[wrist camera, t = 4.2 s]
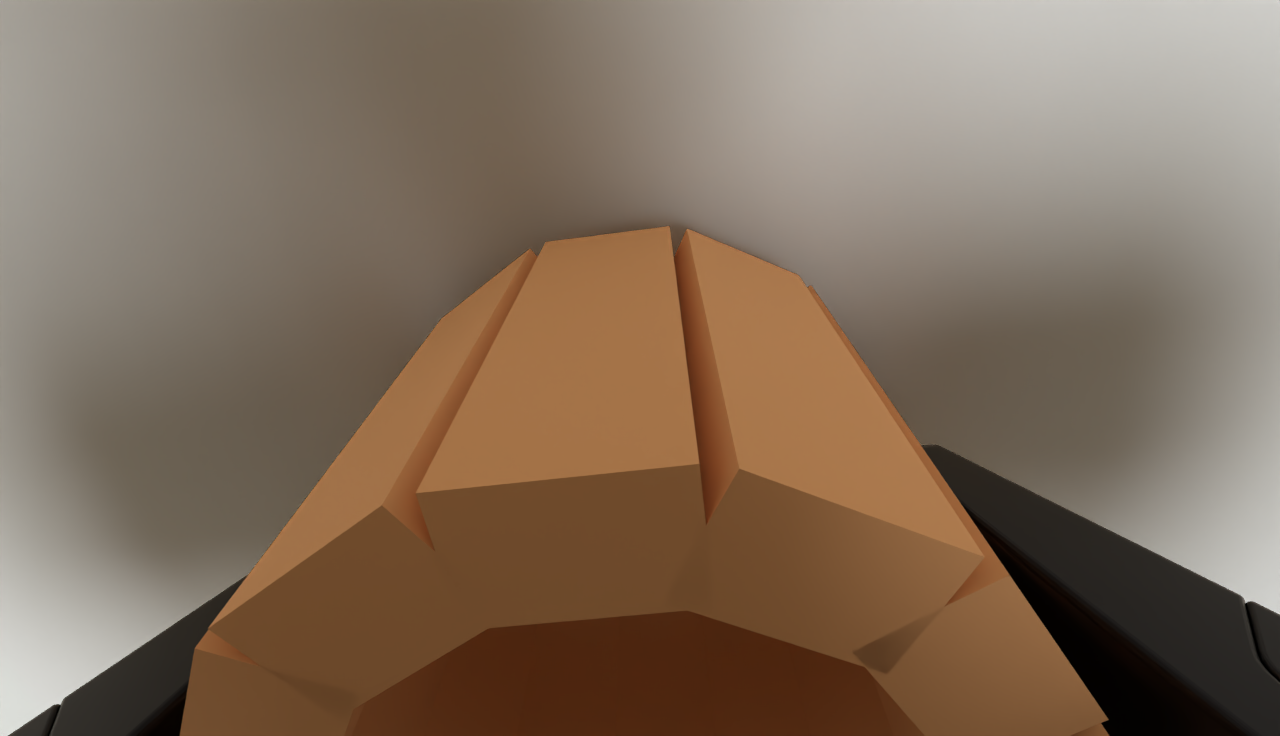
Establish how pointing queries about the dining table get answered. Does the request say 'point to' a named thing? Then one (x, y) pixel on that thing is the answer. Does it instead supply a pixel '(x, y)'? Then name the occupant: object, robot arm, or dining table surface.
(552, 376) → the orange short hollow cylinder
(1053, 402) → the dining table surface
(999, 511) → the robot arm
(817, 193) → the dining table surface
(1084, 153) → the dining table surface
